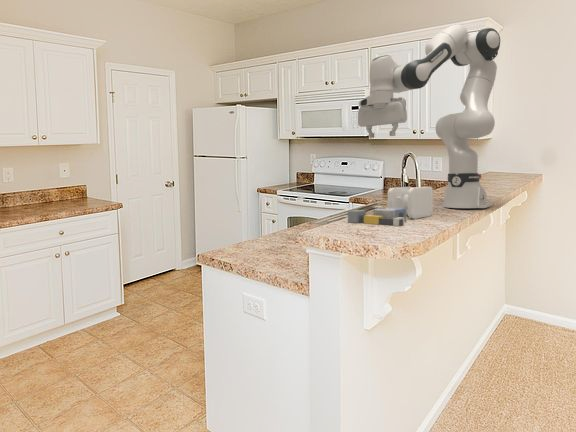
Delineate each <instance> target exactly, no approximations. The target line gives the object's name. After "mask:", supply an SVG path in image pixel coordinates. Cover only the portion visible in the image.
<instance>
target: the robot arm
mask: <svg viewBox="0 0 576 432" xmlns="http://www.w3.org/2000/svg"><path fill="white" fill-rule="evenodd" d="M500 47H501V36H500V34H499V32H498V31H497V30H496V29H495V28H492V27H491V28H490V27H486V28H483V29H480V30H479V31H475V32H472V33H471V34H469V31H468V30H467V28H466V27H465V26H464V25H463V24H458V23H456V24H453V25H450V26H448V27H445V28H444V29H442V30H441V31H439V32H437V34H435V35H434V36H433V37H431V38H430V40H429V41H428V42H426V44H425V48H424V50H425V51H424V52H425V56H424V57H423V58H421V59H420V58H419V59H414V60H412V61H410V62H407V63H405V64H403V65H402V64H399V63H397V62H396V61H395V60H394V59H393V57H392V56H391V55H381V56H377V57H375V58H373V59H372V60H371V62H370V65H369V83H370V85H369V86H370V89H369V95H367V96H366V97H364V98H363V99H361V100H359V101H358V106H359V108H358V110H357V111H358V112H357V124H358V126H359V127H360V128H361V127H363V128H365V129H366V131H367V133H368V139H374V138H375V133H374V132H373V127H375V126H376V127H377V126H385V125H391V127H392V129H391V130H390V131H389V136H390V137H395V136H396V131H397V129H398V127H399V124H405V123H406V122H407V119H408V113H407V108H406V107H407V100H406V99H405V98H404V97H401V96H400V97H394V94H395V93H396V94H400V93H404V92H407V91H412V90H417V89H418V90H419V89H422V88H424V87H425V86H426V85H427V84H428V82H429V80H430V79H431V76H432V75H433V73H434V72H436V71H437V70H438V69H439V68H441V67H442V65H444V63H446V62H448V61H449V60H451V62H452V63H453V64H454V65H455V66H457V67H466V66H468V65H469V72H468V74H467V76H466V78H465V82H464V84H463V87H462V90H461V92H460V95H459V100H460V102H461V104H462V105H463V106H465V108H464V110H463V111H462V112H458V113H450V114H449V113H448V114H446V115H444V116H443V117H442V116H441V117H440V118H438V120H437V122H436V124H435V133H436V135H437V137H438V138H439V139H440V140H442V141H443V143H444V145H445V147H446V150H447V154H448V173H447V177H446V178H447V182H448V184H446V186H445V188H444V196H443V203H441V205H440V206H441V207H443V208H449V209H450V208H451V209H486V208H489V207H492V206H493V203H489V202H487V192H486V191H485V189H484V187H483V186H482V184H481V183H480V181H481V179H482V177H483V176H482V174H481V173H478V168H479V167H478V165H479V164H478V161H479V159H478V157H479V155H478V153H477V152H476V150H474V149H473V148H471V147H470V145H469V142H468V141H469V140H471V139H480V138H483V137H485V136H488V135H490V134H491V133H492V132H493V130H494V129H495V117H494V115H493V114H492V113H491V112H490V111H489V109H488V102H489V99H490V96H491V94H492V90H493V87H494V84H495V80H496V77H497V76H496V75H497V70H498V69H497V68H498V66H497V63H496V62H495V61H494V59H495V58H496V57H498V53H499V51H500Z"/></svg>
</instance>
